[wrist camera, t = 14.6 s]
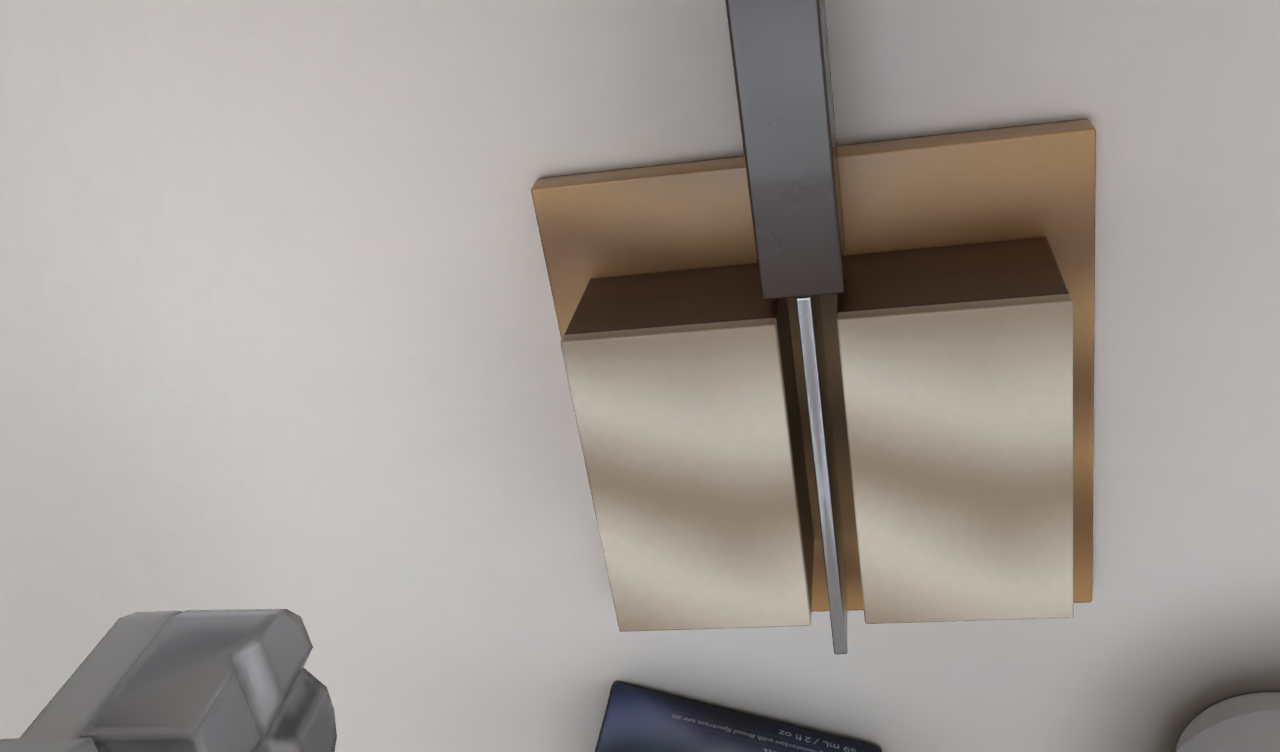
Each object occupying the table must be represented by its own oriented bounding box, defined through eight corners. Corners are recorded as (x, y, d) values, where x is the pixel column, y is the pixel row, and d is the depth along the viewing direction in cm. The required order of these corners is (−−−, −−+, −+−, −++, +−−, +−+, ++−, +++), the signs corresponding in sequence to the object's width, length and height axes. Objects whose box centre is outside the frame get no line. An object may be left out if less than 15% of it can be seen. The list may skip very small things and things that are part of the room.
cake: (537, 178, 37) (491, 244, 32) (1089, 117, 34) (1130, 181, 29) (622, 601, 44) (595, 707, 39) (1087, 584, 41) (1119, 697, 36)
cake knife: (737, -34, 33) (724, -6, 29) (820, -46, 32) (817, -19, 29) (808, 577, 41) (805, 655, 38) (874, 575, 41) (877, 653, 37)
